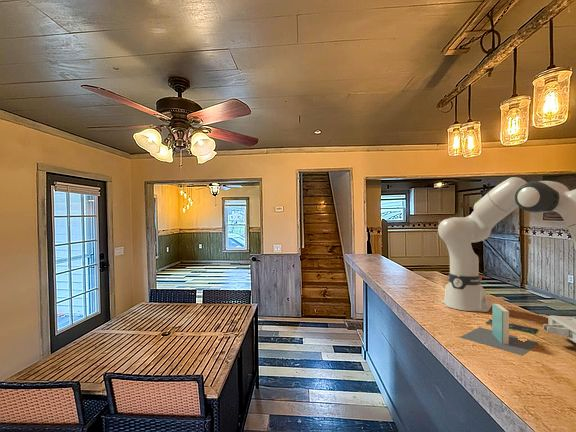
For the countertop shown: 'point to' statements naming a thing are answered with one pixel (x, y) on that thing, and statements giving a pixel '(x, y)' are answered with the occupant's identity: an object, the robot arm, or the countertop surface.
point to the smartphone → (518, 328)
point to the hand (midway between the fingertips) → (545, 328)
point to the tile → (500, 323)
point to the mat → (489, 339)
